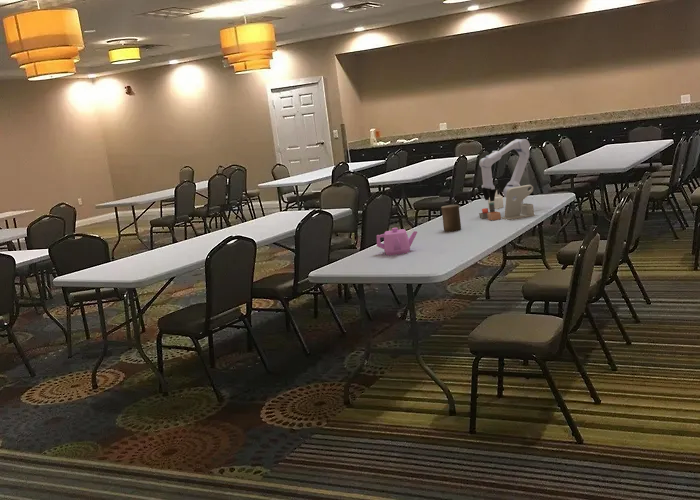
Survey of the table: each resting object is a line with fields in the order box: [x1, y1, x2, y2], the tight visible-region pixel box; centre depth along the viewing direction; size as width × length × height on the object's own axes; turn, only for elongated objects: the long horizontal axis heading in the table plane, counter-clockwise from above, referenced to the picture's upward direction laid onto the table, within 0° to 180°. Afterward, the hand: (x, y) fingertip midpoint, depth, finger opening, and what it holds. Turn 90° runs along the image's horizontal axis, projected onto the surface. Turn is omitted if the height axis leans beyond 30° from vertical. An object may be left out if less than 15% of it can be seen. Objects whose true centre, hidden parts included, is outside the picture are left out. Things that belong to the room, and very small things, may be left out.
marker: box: [488, 202, 496, 212], centre depth 434 cm, size 3×3×8 cm
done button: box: [481, 207, 489, 214], centre depth 430 cm, size 3×3×3 cm
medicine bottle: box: [487, 188, 504, 210], centre depth 462 cm, size 7×7×12 cm
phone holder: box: [501, 184, 535, 221], centre depth 417 cm, size 17×10×18 cm, turn 108°
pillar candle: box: [440, 204, 462, 232], centre depth 404 cm, size 10×10×15 cm
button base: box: [478, 211, 490, 220], centre depth 430 cm, size 6×6×3 cm
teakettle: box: [376, 227, 418, 256], centre depth 363 cm, size 17×17×12 cm
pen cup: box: [487, 210, 502, 221], centre depth 421 cm, size 6×6×4 cm
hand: (489, 200), depth 433 cm, fingers open, 7 cm apart
